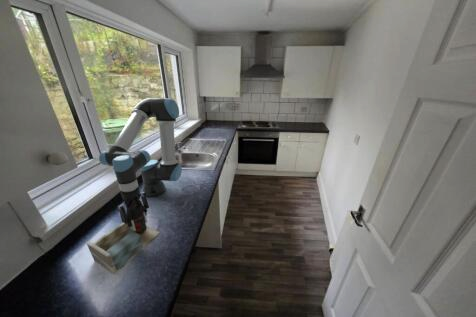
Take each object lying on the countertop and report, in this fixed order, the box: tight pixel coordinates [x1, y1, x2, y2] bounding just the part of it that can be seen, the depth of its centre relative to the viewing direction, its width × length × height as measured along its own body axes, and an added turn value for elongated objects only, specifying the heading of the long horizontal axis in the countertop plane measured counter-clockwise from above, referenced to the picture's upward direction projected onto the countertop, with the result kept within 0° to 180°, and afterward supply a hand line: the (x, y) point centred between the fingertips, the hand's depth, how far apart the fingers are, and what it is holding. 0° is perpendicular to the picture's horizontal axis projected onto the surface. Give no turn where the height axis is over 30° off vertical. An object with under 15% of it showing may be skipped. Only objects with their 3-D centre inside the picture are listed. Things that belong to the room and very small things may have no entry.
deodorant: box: [131, 204, 148, 234], centre depth 90 cm, size 6×6×15 cm
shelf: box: [86, 222, 161, 275], centre depth 84 cm, size 24×14×11 cm, turn 155°
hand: (139, 225), depth 92 cm, fingers closed on deodorant, 6 cm apart
